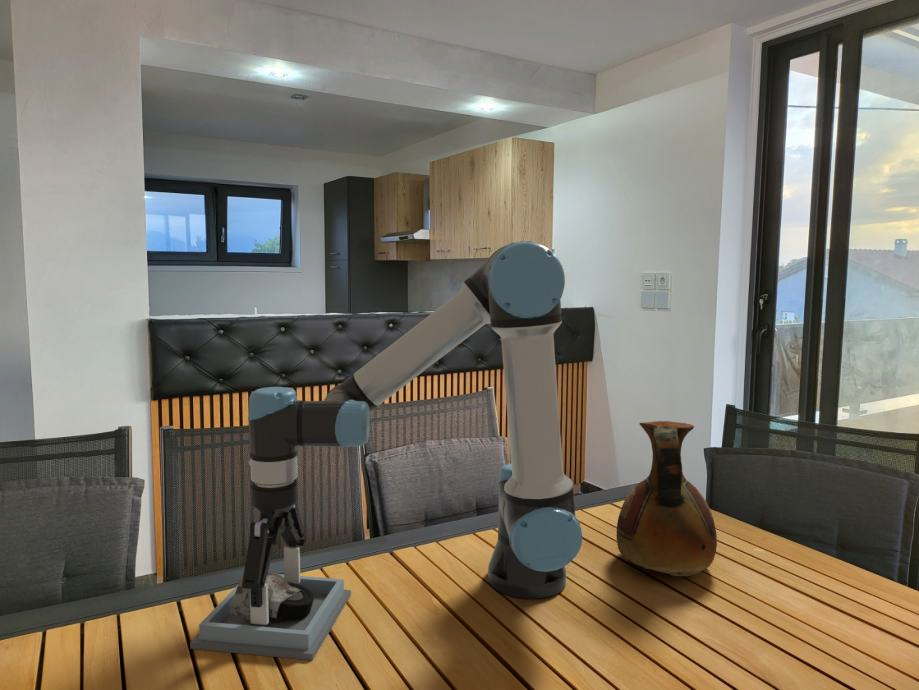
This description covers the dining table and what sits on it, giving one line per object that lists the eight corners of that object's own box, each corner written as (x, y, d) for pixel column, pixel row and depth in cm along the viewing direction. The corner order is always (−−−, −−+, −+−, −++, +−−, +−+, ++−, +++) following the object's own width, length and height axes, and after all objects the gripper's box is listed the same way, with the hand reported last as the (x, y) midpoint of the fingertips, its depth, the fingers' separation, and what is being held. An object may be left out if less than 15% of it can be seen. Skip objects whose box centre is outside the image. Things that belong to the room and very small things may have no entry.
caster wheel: (316, 619, 113) (284, 641, 103) (263, 594, 116) (227, 614, 106) (325, 582, 112) (295, 602, 103) (272, 559, 116) (237, 576, 106)
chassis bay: (350, 595, 118) (350, 577, 118) (312, 660, 98) (312, 638, 98) (247, 586, 121) (247, 569, 120) (190, 648, 101) (189, 627, 101)
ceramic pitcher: (704, 548, 141) (712, 414, 137) (725, 593, 121) (735, 438, 117) (612, 540, 144) (618, 409, 140) (618, 583, 124) (625, 432, 121)
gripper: (282, 457, 119) (285, 566, 122) (215, 506, 95) (220, 641, 97) (321, 459, 118) (323, 569, 121) (263, 509, 94) (267, 645, 96)
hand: (277, 601), depth 109 cm, fingers open, 13 cm apart
